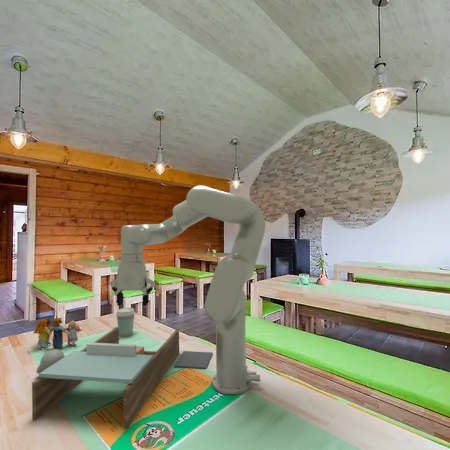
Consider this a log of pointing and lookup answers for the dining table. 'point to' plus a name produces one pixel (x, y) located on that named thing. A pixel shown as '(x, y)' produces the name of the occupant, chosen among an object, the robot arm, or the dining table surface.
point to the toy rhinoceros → (50, 359)
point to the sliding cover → (100, 364)
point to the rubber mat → (194, 360)
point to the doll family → (56, 333)
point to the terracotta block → (140, 350)
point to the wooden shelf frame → (133, 393)
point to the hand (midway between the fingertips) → (132, 304)
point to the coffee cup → (125, 321)
